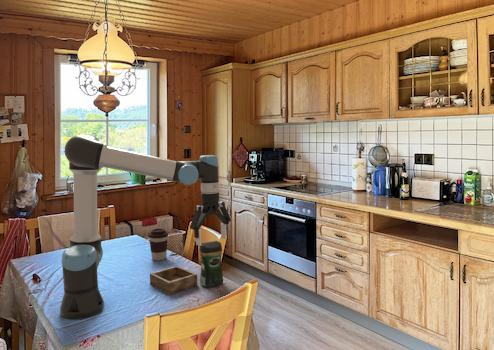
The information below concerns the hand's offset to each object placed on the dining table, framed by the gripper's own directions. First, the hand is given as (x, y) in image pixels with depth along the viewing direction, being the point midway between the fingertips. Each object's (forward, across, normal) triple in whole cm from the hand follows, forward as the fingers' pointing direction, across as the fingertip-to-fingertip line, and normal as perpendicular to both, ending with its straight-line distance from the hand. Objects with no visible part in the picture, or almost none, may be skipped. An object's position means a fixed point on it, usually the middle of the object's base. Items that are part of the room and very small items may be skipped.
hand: (211, 241), depth 175 cm
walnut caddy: (+19, -12, +11) cm, 25 cm away
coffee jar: (+19, 0, +1) cm, 19 cm away
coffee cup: (+19, +3, +47) cm, 51 cm away
